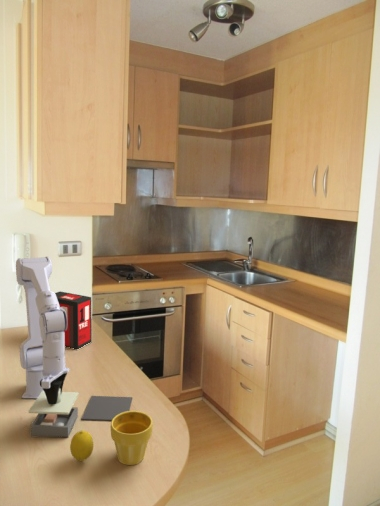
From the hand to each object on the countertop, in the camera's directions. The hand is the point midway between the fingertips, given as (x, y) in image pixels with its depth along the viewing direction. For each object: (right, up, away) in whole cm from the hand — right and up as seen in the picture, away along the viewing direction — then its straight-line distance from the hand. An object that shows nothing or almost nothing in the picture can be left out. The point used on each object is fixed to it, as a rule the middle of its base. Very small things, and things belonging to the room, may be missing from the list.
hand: (54, 399), depth 117 cm
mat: (+13, -7, +11) cm, 18 cm away
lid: (0, -2, 0) cm, 2 cm away
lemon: (+11, -11, -12) cm, 20 cm away
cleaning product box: (-13, +3, +60) cm, 62 cm away
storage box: (0, -8, +1) cm, 8 cm away
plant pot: (+23, -11, -10) cm, 27 cm away
